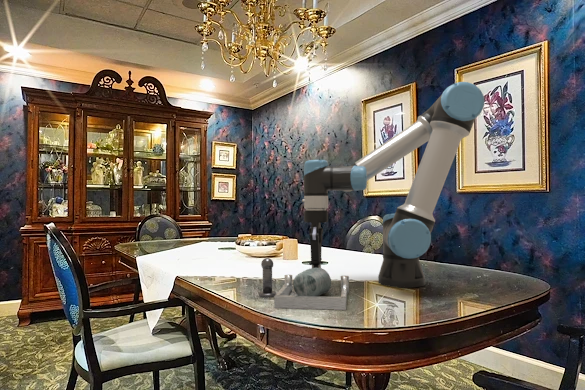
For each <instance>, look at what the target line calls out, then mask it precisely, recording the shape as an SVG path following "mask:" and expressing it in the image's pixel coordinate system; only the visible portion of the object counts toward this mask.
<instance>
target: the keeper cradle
mask: <svg viewBox="0 0 585 390" xmlns="http://www.w3.org/2000/svg"><path fill="white" fill-rule="evenodd" d="M349 282H350V277H349V275H341V276H340V294H341V295H340V296H322V295H319V296H298V295H289V294H291V293H293V290H294V286H293V275H292V274H285V275H284V284H283V285H282V287H281V288H280V289H279V290H278V291H277V292H276V295H275V296H274V297H273V298H274V299H273V301H274V305H273V307H274V308H275V309H294V310H296V309H298V310H299V309H301V310H328V309H334V310H335V311H337V310H339V311H346V310H347V300H348V299H347V297H348V294H350V283H349Z"/></svg>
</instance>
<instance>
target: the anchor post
mask: <svg viewBox="0 0 585 390" xmlns="http://www.w3.org/2000/svg"><path fill="white" fill-rule="evenodd" d="M260 264H261V265H260V266H261V268H262V290H261V291H259V292H258V296H259V297H261V298H274V296H275V295H276V294H277V292H276V291H275V290H273V267H274V260H273V259H271V258H269V257H265V258H263V259H262V261H261V263H260Z"/></svg>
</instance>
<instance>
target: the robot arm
mask: <svg viewBox="0 0 585 390" xmlns="http://www.w3.org/2000/svg"><path fill="white" fill-rule="evenodd" d="M484 107H485V96H484V94H483V92H482V90H481V89H480V87H478V86H477V85H476V84H475V83H472V82H469V81H458V82H454V83H452V84H451V85H449V86H447V87H446V88H445V89H444V91H443V92H442V94H441V95H440V96H439V97H438V98H437V99H436V101H434V103H433V104H432V105H431V106H430V107H429V108H428V109H427V110H426V111H424V112H423V113H422V114H420V115H419V116H417V120H416V121H415V122H414V123H412V124H411V125H409V126H408V127H406V128H405V129H403V130H402V131H399V133H397V134H395V136H393V137H391V138H390V139H388V140H387V141H385V142H383V144H381V145H380V146H378V147H376V148H375V149H373V150H372V151H370V152H369V153H367V154H365V156H362V157H361V158H360V159H358V160H357V161H355V162H354V163H352V164H351V165H344V166H342V165H341V166H330V165H329V163H328V162H329V161H327V160H326V159H308V160H306V161H305V162H304V164H303V196H304V197H303V198H302V200H301V202H302V203H303V208H304V209H305V210H304V211H303V221H304V223H310V224H311V227H310V228H309V229H308V233H309V241H310V242H309V243H310V262H309V265H310V266H311V268H322V265H323V264H324V261H322V242H323V233H324V229H323V227H321V226H322V225H321V223H322V224H324V223H328V221H329V211H328V210H327V209H328V208H329V194H328V193H329V191H332V192H333V191H341V192H345V193H351V192H353V191H356V192H358V191H364V190H367V186H368V185H367V184H368V183H367V182H368V181H369V180H371V179H372V178H374V177H375V176H378V174H380V173H382V172H383V171H384V170H386V169H387V168H389V167H390V166H392V165H393V164H395V163H397V162H398V161H400V160H401V159H403V158H404V157H406V156H408V155H409V154H410V153H412V152H413V151H415V150H416V149H418V148H420V147H421V146H423V145H425V144H426V143H427V144H426V147H425V150H424V152H423V155H422V157H421V160H420V162H419V164H418V167H417V171H416V173H415V175H414V178H413V179H412V183H411V186H410V187H409V191H408V194H407V196H406V197H405V198H406V199H405V200H404V201H405V202H404V203H403V204H402V205H399V206H397V208H396V210H395V213H388V214H384V216H383V218H382V222H381V224H382V225H381V226H382V246H383V247H382V248H383V249H382V250H383V251H382V253H383V256H382V257H383V258H382V259H383V260H382V263H381V267H380V270H379V272H378V273H379V274H378V276H377V277H378V278H377V279H378V280H377V281H378V284H380V285H383V286H387V287H391V288H392V287H393V288H408V289H409V288H419V287H424V286H425V285H426V276H425V274H424V271H423V268H422V264H421V261H420V257H421V256H423V255H424V254H426V252H427V251H428V250H429V248H430V246H431V242H432V231H433V228H434V225H435V223H436V219H435V217H434V215H433V213H434V211H435V208H436V206H437V203H438V201H439V199H440V195H441V192H442V190H443V187H444V185H445V182H446V179H447V177H448V175H449V172H450V169H451V167H452V165H453V162H454V159H455V157H456V153H457V152H458V148H459V146H460V144H461V141H462V139H464V138H467V137H468V136H470V133H471V130H472V129H473V126H474V123H475V120H476V118H478V117H479V116H480V114H481V113H482V111H483V109H484Z"/></svg>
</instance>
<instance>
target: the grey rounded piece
mask: <svg viewBox="0 0 585 390" xmlns="http://www.w3.org/2000/svg"><path fill="white" fill-rule="evenodd" d="M331 286H332V279H331V276H330V273H328V271H327V270H325V269H324V268H322V267H321V268H312V267H311V268H308V269H306V270H303V271H301V272H299V273H298V274H297V275H295V276H294V277H293V280H292V287H293V290H294V292H295V293H296V296H322V295H324V294H326V293H328V292H329V290H330V289H331Z"/></svg>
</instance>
